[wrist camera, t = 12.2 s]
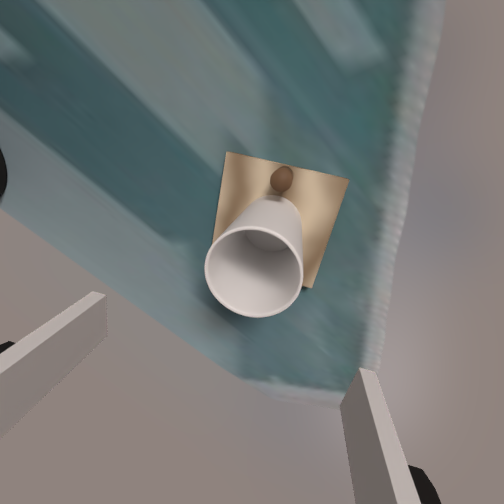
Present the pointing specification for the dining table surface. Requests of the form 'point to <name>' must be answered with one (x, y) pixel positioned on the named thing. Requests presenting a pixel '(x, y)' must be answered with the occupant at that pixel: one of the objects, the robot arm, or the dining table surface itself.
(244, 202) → the peg board
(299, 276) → the cup
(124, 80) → the dining table surface
